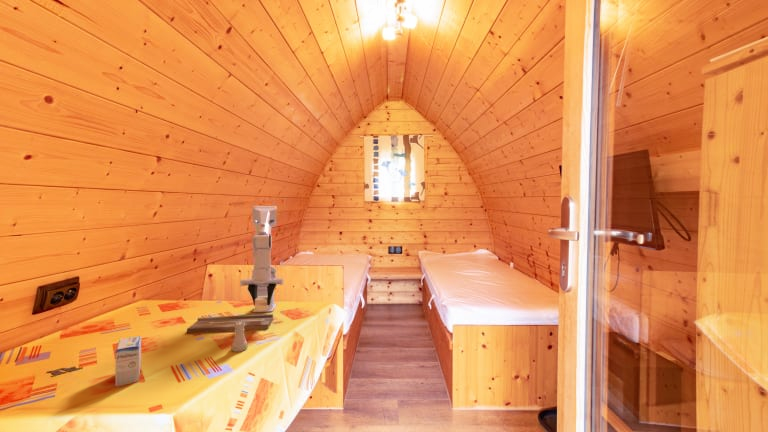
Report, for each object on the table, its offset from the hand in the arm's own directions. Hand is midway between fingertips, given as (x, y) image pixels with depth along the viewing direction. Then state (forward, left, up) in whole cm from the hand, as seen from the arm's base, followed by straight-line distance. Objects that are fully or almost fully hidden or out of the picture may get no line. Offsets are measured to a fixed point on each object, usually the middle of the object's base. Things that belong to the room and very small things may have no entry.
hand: (262, 304), depth 115 cm
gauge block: (0, 0, -1) cm, 1 cm away
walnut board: (0, -10, -7) cm, 12 cm away
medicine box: (+34, -24, -7) cm, 43 cm away
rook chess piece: (+21, -2, -7) cm, 23 cm away
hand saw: (+23, -35, -8) cm, 43 cm away
